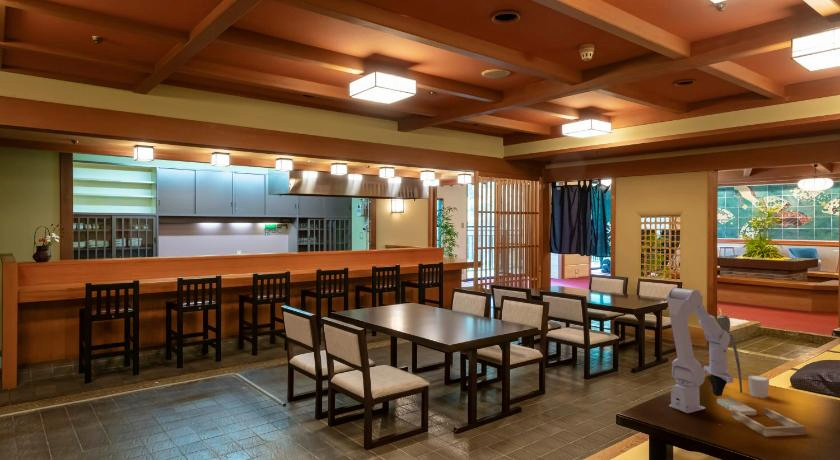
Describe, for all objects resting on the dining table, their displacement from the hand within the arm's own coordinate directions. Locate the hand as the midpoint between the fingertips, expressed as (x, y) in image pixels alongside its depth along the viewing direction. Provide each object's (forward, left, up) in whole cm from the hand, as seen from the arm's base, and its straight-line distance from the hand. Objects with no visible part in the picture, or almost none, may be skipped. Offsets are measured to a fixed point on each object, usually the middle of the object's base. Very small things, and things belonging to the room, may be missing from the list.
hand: (718, 395), depth 195 cm
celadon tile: (-2, -6, -2) cm, 7 cm away
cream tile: (-4, -12, -2) cm, 13 cm away
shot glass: (+17, -5, -2) cm, 18 cm away
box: (-8, -23, -1) cm, 24 cm away
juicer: (+13, +7, -2) cm, 15 cm away
